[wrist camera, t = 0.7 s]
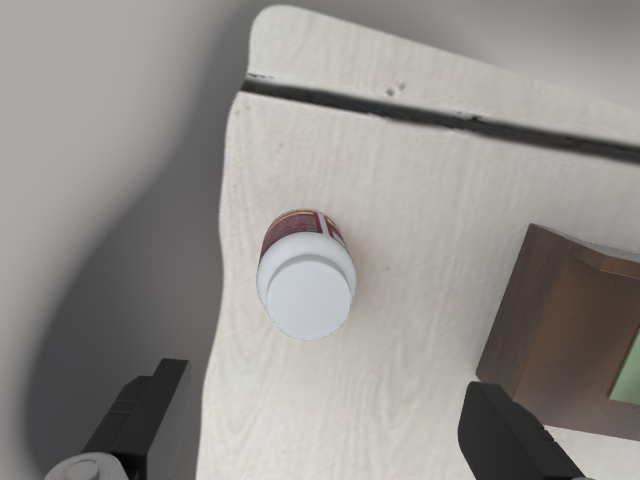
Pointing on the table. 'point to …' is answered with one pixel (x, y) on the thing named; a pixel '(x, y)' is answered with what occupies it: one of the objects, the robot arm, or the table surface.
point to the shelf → (570, 335)
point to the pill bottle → (305, 275)
